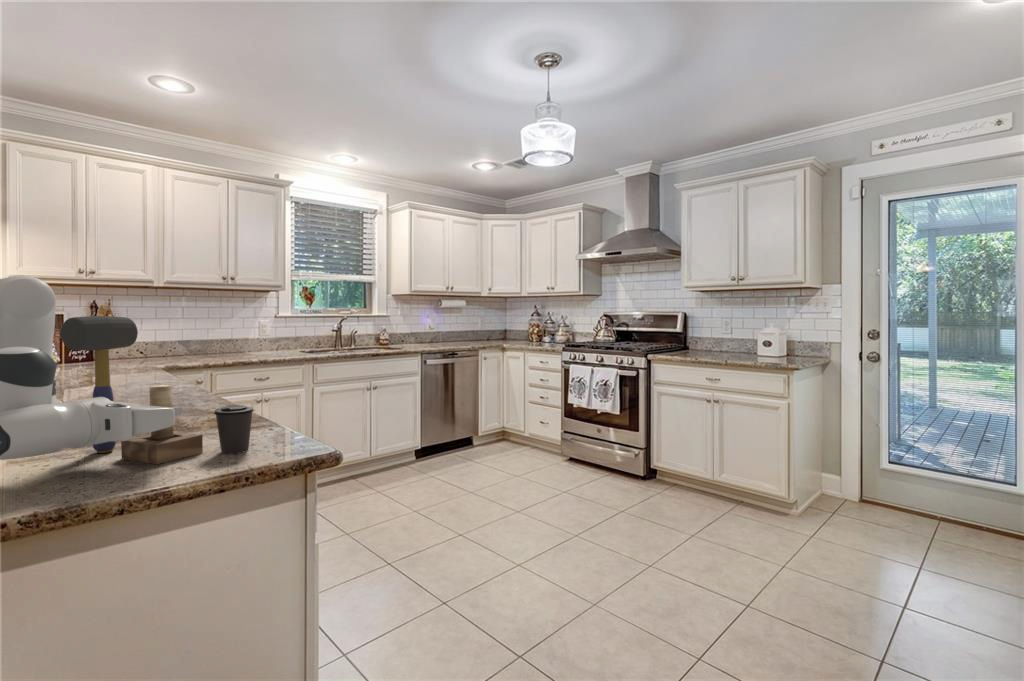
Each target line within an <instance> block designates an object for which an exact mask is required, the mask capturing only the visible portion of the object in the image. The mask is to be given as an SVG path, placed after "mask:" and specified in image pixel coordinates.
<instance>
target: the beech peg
mask: <svg viewBox="0 0 1024 681" xmlns="http://www.w3.org/2000/svg"><path fill="white" fill-rule="evenodd" d="M148 392H149V404H150V406H160V407H174V406H173V404H174V403H173V385H170V384H163V385H162V384H161V385H152V386H149V390H148ZM173 431H174V425H172V426H171V427H168V428H165V429H161V430H158V431H154V432H150V434H151V437H150V439H152V440H153V441H162V440H167V439H171V438H172V437H174V434H173Z"/></svg>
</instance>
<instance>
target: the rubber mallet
mask: <svg viewBox="0 0 1024 681" xmlns="http://www.w3.org/2000/svg"><path fill="white" fill-rule="evenodd" d="M138 335H139V332H138V327H137V325H136V323H135V321H134V320H132V319H130V318H129V317H126V316H112V315H89V316H87V315H86V316H74V317H70V318H68V319H66V320H65V321H64V322H63V323H62V326H61V328H60V339H61V340H62V342H63V345H65V347H66V348H68V349H70V350H73V351H94V378H95V379H94V385H95V386H94V387H93V392H92V398H96V397H105V398H107V399H109V400H110V401H113V402H115V400H114V393H113V387H112V385H111V373H110V370H111V369H110V354H109V353H110V351H109V350H114V349H122V348H128V347H131V346H132V345H134V343H135V342H136V341H137V339H138ZM116 444H117V442H105V443H100V444H94V445H92V448H93V449H94V451H96V453H98V454H106V453H110V452H113V451H114V448H115V447H116Z"/></svg>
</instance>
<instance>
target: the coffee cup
mask: <svg viewBox="0 0 1024 681" xmlns="http://www.w3.org/2000/svg"><path fill="white" fill-rule="evenodd" d="M254 411H255V409H254V408H253V407H252V406H247V405H244V404H243V405H237V404H235V405H228V406H223V407H221V408H218V409H215V410H214V412H213V415H215V418H216V425H217V433H218V439H219V444H220V452H221V453H222V454H224V453H235V454H239V453H238V452H241V453H244V452H243V451H245V452H247V451H248V450H250V449H249V447H250V438H251V437H250V436H251V428H252V419H253V412H254ZM246 450H247V451H246Z"/></svg>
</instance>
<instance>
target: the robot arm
mask: <svg viewBox="0 0 1024 681" xmlns="http://www.w3.org/2000/svg"><path fill="white" fill-rule="evenodd" d="M56 304H57V296H56V294H55V292H54V290H53V289H52V287H51V286H50V285H49V284H48V283H47V282H46V281H45V280H42V279H40V278H38V277H35V276H31V275H24V274H22V275H21V274H20V275H13V276H8V277H5V278H4V277H3V278H0V461H1V460H2V461H4V460H7V461H8V460H17V459H24V458H26V459H27V458H32V457H38V456H44V455H48V454H49V455H50V454H55V453H56V452H58V451H61V450H64V449H67V448H71V449H73V448H74V449H75V448H76V449H78V448H82V447H83V448H84V447H88V446H89V447H90V446H93V445H94V444H100V443H105V442H116V443H117V442H121V441H127V440H131V439H132V438H133V437H136V436H142V435H147V434H151V432H154V431H158V430H161V429H165V428H168V427H171V426H172V425H173V426H174V425H175V423H176V421H175V420H176V417H177V416H181V415H183V414H182V413H183V408H182V406H173V407H160V406H150V403H143V404H139V403H132V402H130V403H128V402H119V401H114V402H113V401H110V400H109V399H107V398H105V397H96V398H93V397H90V398H89V397H88V398H81V399H76V400H75V399H73V400H68V401H67V402H64V403H63V402H62V401H61V400H60V399H58V398H57V397H56V396H55V395H57V388H58V386H57V381H56V379H55V377H56V372H57V366H58V364H57V362H56V361H55V360H54V359H53V358H54V357H53V343H54V335H55V325H56V324H55V323H56V308H57V307H56V306H57V305H56Z"/></svg>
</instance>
